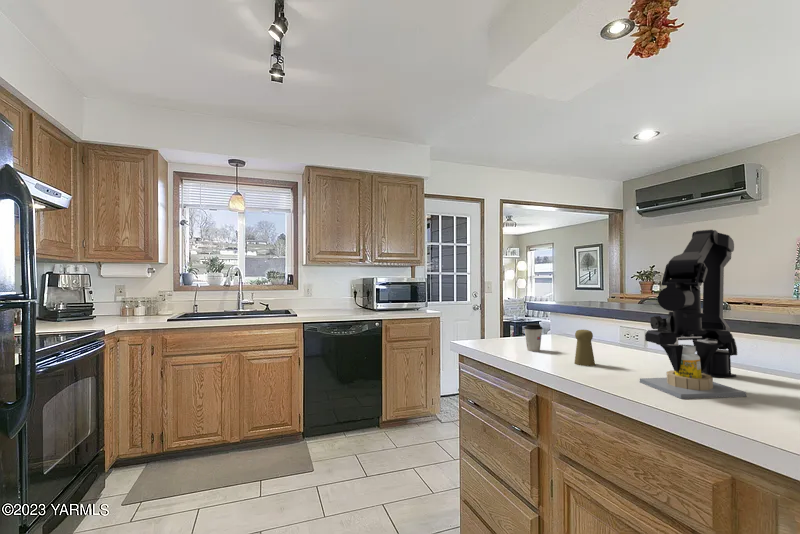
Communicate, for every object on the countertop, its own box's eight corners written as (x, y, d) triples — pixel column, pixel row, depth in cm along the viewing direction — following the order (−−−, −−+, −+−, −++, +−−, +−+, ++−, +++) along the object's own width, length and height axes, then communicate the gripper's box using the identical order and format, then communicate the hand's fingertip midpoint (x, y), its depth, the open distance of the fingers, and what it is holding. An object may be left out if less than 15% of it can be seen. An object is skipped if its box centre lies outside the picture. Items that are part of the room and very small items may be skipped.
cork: (574, 365, 123) (573, 330, 123) (574, 361, 129) (573, 328, 129) (596, 366, 121) (595, 331, 121) (594, 362, 126) (593, 329, 127)
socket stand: (696, 380, 104) (696, 367, 104) (746, 396, 90) (745, 381, 90) (639, 382, 103) (639, 368, 103) (680, 398, 89) (680, 383, 89)
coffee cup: (522, 351, 147) (521, 324, 147) (526, 348, 153) (526, 322, 153) (541, 352, 143) (540, 325, 144) (545, 349, 149) (544, 323, 150)
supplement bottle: (705, 384, 96) (702, 345, 96) (697, 388, 93) (694, 348, 93) (680, 380, 100) (677, 343, 101) (671, 384, 97) (668, 346, 98)
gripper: (695, 305, 106) (697, 362, 105) (630, 306, 104) (631, 364, 104) (732, 308, 94) (735, 372, 94) (660, 310, 93) (662, 375, 93)
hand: (688, 370), depth 97 cm, fingers open, 6 cm apart
